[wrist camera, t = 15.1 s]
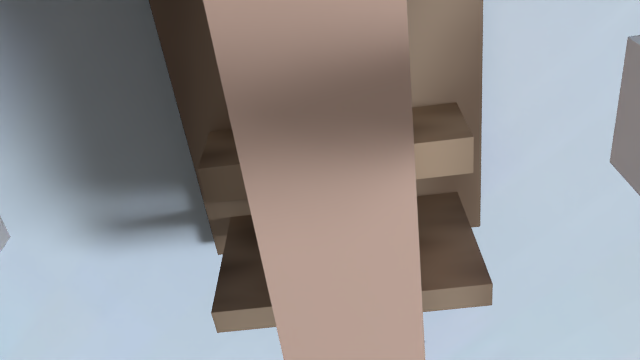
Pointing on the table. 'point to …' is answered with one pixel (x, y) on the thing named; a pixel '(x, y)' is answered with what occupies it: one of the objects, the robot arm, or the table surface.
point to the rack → (429, 146)
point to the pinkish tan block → (328, 169)
